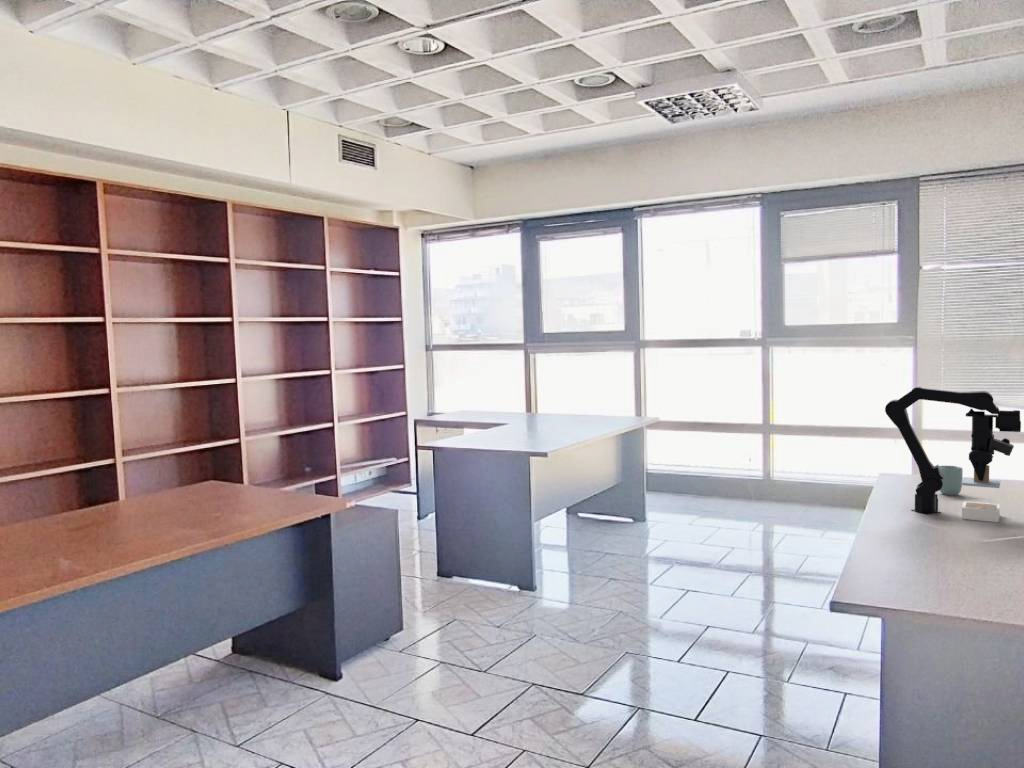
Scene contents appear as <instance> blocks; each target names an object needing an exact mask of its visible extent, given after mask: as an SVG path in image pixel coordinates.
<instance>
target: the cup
mask: <svg viewBox="0 0 1024 768" xmlns="http://www.w3.org/2000/svg"><path fill="white" fill-rule="evenodd" d="M939 468H940V471H941V472H942V474H943V475H944V478H943V486H942V488H941V489H940V490H939V492H940V494H942V495H944V496H945V495H946V496H957V495H959V494H960V493H961V492H962V487H963V485H962V482H963V467H961V466H956V465H939Z"/></svg>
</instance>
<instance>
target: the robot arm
mask: <svg viewBox="0 0 1024 768" xmlns="http://www.w3.org/2000/svg"><path fill="white" fill-rule="evenodd" d="M918 400H923V401H933V402H940V403H949V404H957V405H962V406H965V407H968V408H970V409H969V410H968V412H965V417H970V418H971V447H970V450H971V451H970V452H969V453H968V460H969V461H970V463H971V465H972V467H973V471H974V470H975V472H976V474H977V477H978V479H979V480H981V481H983V478H984V474H985V470H986V466H987V465H988V464H990V463H992V461H993V458H994V456H993V455H995V451H996V452H999V453H1001V454H1002V455H1003V454H1004V456H1006V457H1007V456H1008V457H1010V455H1011V453H1012V452H1013V450H1014V447H1015V446H1014V444H1012V443H1010V439H1009V438H1006V437H1004V438H1003V439H1001V440H1000V439H998V438H997V439H996V438H995V434H994V433H993V432H994V428H995V429H997V430H999V432H1002V433H1003V432H1004V433H1006V432H1007V433H1011V432H1012V433H1021V431H1022V430H1021V429H1022V422H1021V411H1020V410H1019V409H1017V410H1015V409H1014V410H1000V409H999V406H997V405H996V404H995V403H994V397H993V395H992V394H991V393H990V392H988V391H985V390H976V391H974V390H971V391H952V390H943V389H942V390H941V389H933V388H925V387H921V386H916V387H914V388H912V389H911V391H909V392H907V393H906V394H905V395H903V396H901V398H899V399H893V400H890V401H889V402H888V403H887V404H886V406H885V407H884V411H885V414H886V415H887V417H888V418H889V420H890V421H891V422H892V423H893V425H895V427H897V429H898V431H899V432H900V434H901V436H902V438H903V440H904V442H905V444H906V446H907V448H908V450H909V451H910V454H911V455H912V457H913V459H914V461H915V464H916V465H917V468H918V471H919V475H920V479H921V482H920V483H919V484H917V485H916V488H915V492H916V493H914V509H911V510H910V511H911V512H916V513H919V514H922V515H936V514H941V513H942V512H941V511H939V499H938V494H937V492H940V489H941V488H942V486H943V478H944V475H943V474H942V472H941V471H940V468H939V466H940V465H939V464H936V465H933V463H932V461H930V458H929V457H928V454H927V453H926V451H925V449H924V447H923V445H922V443H921V442H920V439H919V438H918V436H917V434H916V431H915V430H914V428H913V426H912V423H911V422H910V418H909V413H908V410H907V409H908V408H909V407H911V406H912V405H914V404H915V403H916V402H918ZM974 409H975V410H974ZM976 410H977V411H976ZM978 410H979V411H978ZM985 411H986V412H988V413H990V414H986V413H985ZM994 418H995V421H994ZM994 422H995V424H994ZM994 425H995V427H994Z"/></svg>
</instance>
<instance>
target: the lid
mask: <svg viewBox="0 0 1024 768" xmlns="http://www.w3.org/2000/svg"><path fill="white" fill-rule="evenodd" d="M962 486H966V487H978V488H979V487H981V488H994V489H1000V486H1001V479H990V465H988V464H987V466H986V470H985V474H984V478H983V481H981V480H979V479H978V477H977V474H976V472H975V470H974V469H973V478H972V477H963V479H962Z"/></svg>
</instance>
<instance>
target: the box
mask: <svg viewBox="0 0 1024 768" xmlns="http://www.w3.org/2000/svg"><path fill="white" fill-rule="evenodd" d="M979 506H983V507H985V508H986V509H979V508H977V507H979ZM1000 506H1001V505H1000V504H999V503H998V504H997V503H986V502H976V501H963V503H962V507H961V519H963V520H974V521H983V522H984V521H985V522H996V523H999V522H1000V518H1001V517H1000V516H1001V512H1000V511H1001V507H1000Z"/></svg>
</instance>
